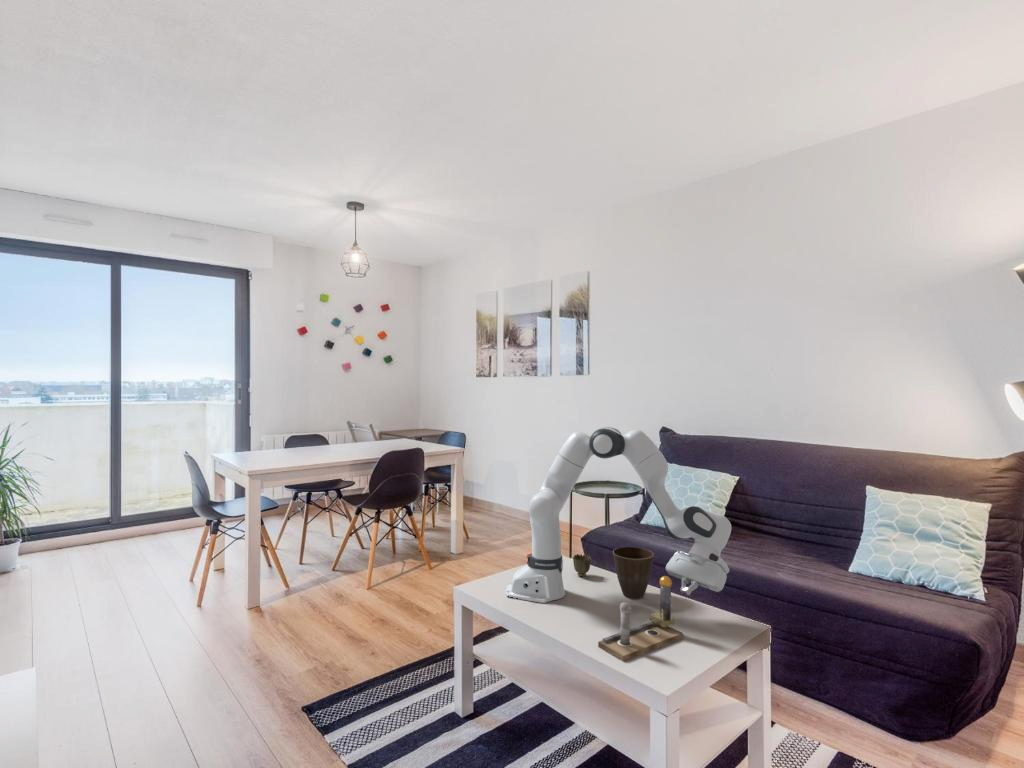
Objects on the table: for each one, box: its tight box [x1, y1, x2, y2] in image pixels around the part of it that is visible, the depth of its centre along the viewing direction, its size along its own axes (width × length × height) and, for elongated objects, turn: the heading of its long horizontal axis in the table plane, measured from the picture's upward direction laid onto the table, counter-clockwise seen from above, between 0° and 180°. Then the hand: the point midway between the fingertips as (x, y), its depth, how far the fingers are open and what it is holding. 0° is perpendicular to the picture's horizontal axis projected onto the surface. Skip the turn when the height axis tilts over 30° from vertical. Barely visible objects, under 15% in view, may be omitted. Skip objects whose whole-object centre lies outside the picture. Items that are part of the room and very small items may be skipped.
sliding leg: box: [649, 575, 675, 627], centre depth 162 cm, size 4×6×16 cm
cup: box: [572, 553, 592, 578], centre depth 212 cm, size 8×7×8 cm
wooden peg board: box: [597, 601, 684, 662], centre depth 155 cm, size 26×10×13 cm, turn 124°
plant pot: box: [612, 546, 655, 600], centre depth 191 cm, size 15×15×16 cm
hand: (684, 592), depth 166 cm, fingers closed
